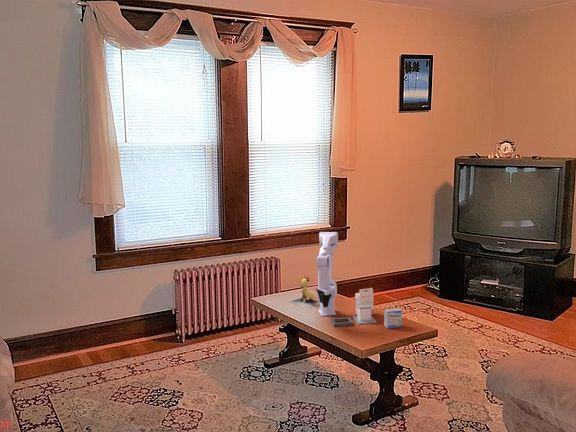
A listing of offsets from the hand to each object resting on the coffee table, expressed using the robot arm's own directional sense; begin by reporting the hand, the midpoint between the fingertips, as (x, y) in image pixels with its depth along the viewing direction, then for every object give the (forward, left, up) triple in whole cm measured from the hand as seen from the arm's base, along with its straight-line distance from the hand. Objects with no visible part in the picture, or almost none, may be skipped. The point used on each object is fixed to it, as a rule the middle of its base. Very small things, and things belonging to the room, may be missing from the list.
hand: (323, 304), depth 286 cm
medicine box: (+13, +32, -10) cm, 36 cm away
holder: (+3, +8, -9) cm, 13 cm away
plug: (+1, +21, -9) cm, 23 cm away
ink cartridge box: (-8, +24, -10) cm, 27 cm away
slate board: (+1, +21, -9) cm, 23 cm away
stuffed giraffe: (-37, 0, -10) cm, 38 cm away
